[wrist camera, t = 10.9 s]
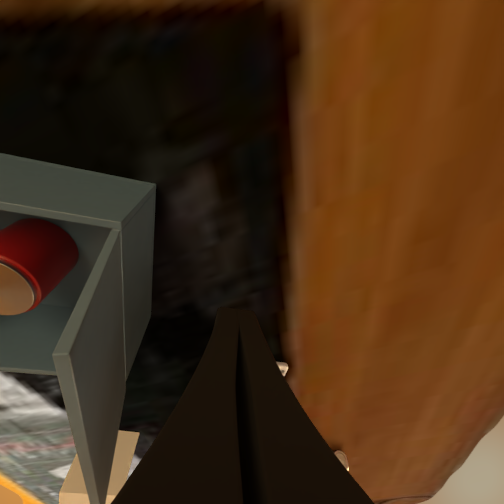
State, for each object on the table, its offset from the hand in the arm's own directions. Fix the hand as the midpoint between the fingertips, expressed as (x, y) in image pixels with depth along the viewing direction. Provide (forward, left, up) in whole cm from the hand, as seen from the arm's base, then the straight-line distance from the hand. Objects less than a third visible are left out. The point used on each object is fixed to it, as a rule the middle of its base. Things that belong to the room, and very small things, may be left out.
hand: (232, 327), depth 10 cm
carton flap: (-4, +5, 0) cm, 6 cm away
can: (-4, +13, -9) cm, 16 cm away
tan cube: (-33, +10, -10) cm, 36 cm away
